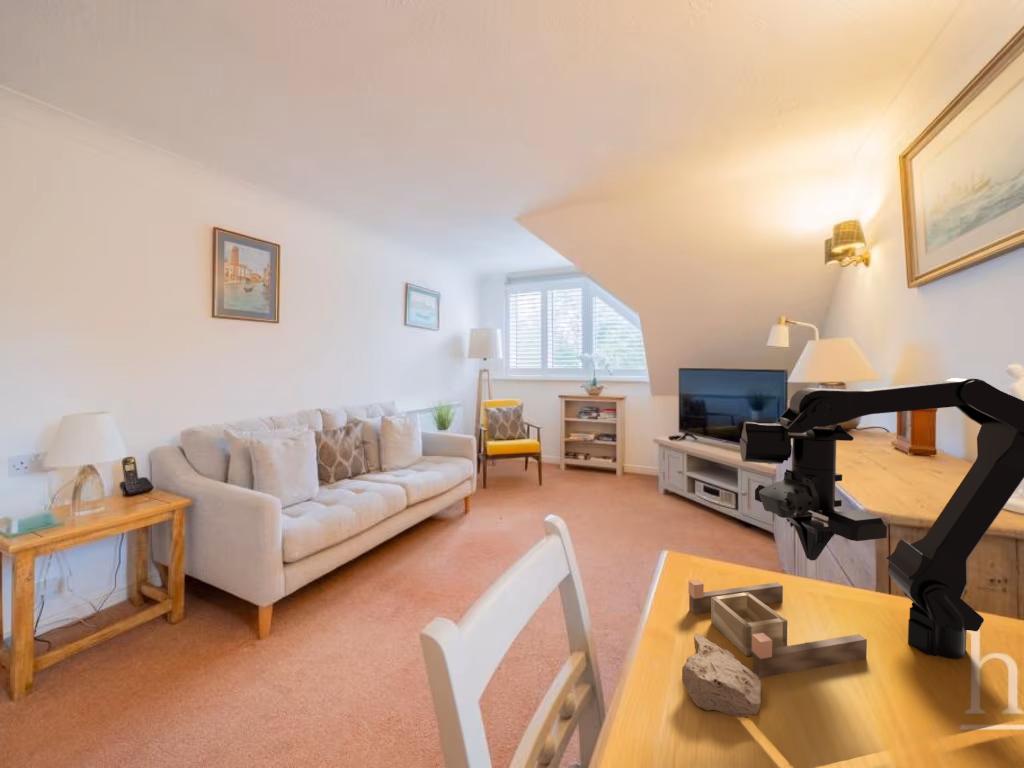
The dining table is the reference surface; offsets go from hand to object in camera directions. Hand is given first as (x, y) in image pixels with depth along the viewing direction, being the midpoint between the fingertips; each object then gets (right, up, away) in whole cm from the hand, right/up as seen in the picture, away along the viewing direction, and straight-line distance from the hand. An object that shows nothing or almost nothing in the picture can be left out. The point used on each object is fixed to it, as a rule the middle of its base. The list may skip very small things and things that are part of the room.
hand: (811, 559), depth 67 cm
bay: (-8, -12, -1) cm, 14 cm away
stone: (-21, -13, -11) cm, 28 cm away
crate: (-12, -11, -2) cm, 16 cm away
